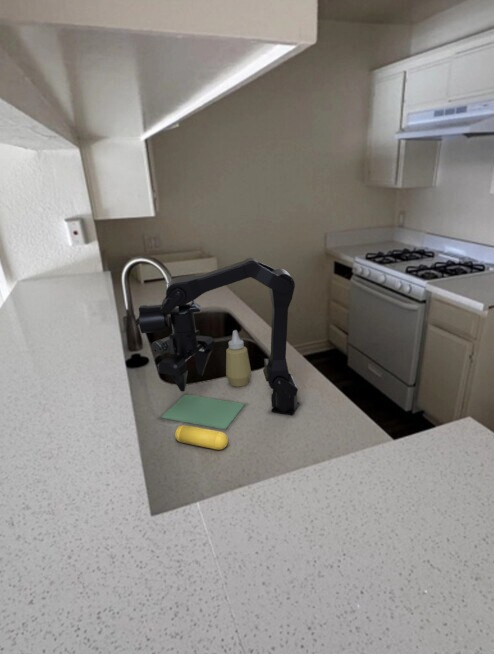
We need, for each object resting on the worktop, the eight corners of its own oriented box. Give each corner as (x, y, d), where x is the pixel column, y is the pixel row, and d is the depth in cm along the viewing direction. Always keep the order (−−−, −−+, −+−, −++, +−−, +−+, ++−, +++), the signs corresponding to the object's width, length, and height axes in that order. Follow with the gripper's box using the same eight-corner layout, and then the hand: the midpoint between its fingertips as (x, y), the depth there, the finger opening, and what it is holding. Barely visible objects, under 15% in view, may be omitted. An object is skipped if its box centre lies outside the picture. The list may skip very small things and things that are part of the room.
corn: (231, 444, 105) (230, 429, 103) (223, 454, 101) (222, 440, 100) (182, 434, 110) (179, 420, 108) (173, 444, 106) (170, 430, 104)
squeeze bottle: (253, 377, 138) (250, 326, 130) (250, 389, 131) (246, 336, 123) (229, 376, 139) (224, 326, 131) (224, 388, 131) (219, 336, 124)
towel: (245, 404, 122) (244, 403, 122) (225, 429, 111) (225, 428, 111) (185, 395, 129) (185, 394, 129) (161, 417, 118) (161, 416, 117)
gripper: (177, 314, 116) (184, 364, 122) (134, 339, 100) (145, 395, 107) (212, 317, 112) (218, 369, 118) (173, 344, 96) (182, 402, 103)
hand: (191, 383), depth 112 cm, fingers open, 9 cm apart
